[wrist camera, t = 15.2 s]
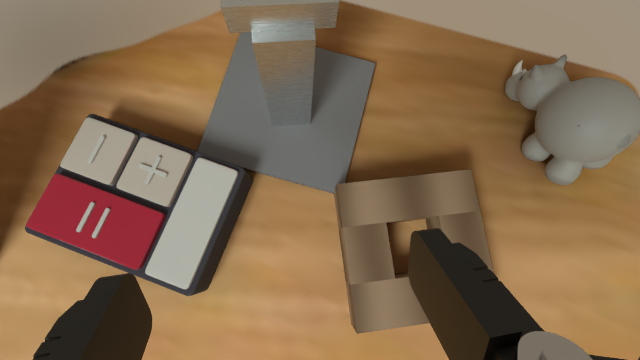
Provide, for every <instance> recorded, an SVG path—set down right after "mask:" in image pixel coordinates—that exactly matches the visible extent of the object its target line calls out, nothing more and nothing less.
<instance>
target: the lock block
mask: <svg viewBox="0 0 640 360" xmlns="http://www.w3.org/2000/svg"><path fill="white" fill-rule="evenodd" d="M334 190H335V193H334V196H335V204H336V211H337V219H338V226H339V234H340V241H341V249H342V257H343V264H344V272H345V279H346V287H347V294H348V302H349V309H350V317H351V324H352V326H353V328H354V329H355V331H356V333H357V334H358V333H365V332H372V331H378V330H385V329H392V328H399V327H406V326H412V325H419V324H426V323H430V322H429V320H428V318H427V316H426V314H425V313H424V311H423V309H422V307H421V305H420V303H419V301H418V299H417V297H416V296H415V294H414V292H413V290H412V287H411V284H410V281H409V276H408V272H407V273H400V274H394V268H393V261H392V255H391V249H390V243H389V236H388V230H387V224H386V223H395V222H403V221H411V220H419V219H426V223H427V229H433V228H439V229H441V230H442V231H443V233H444V234H445V235H446V236H447V238H448V239H449V240H450V241H451V243H458V242H460V243H461V244H463V245H464V246H466V247H467V248H469V249H471V250H472V251H474V252H475V253H477V255H478V256H479V257H480V258H481V259H482V260H483V262H484V263H485V264H486V265H487V266H488V269H490V270H491V271H492V272H493V267H492V263H491V258H490V253H489V249H488V244H487V240H486V235H485V231H484V226H483V221H482V217H481V212H480V208H479V203H478V199H477V194H476V189H475V185H474V180H473V176H472V171H471V169H469V170H460V171H451V172H442V173H433V174H424V175H415V176H406V177H397V178H388V179H379V180H370V181H361V182H352V183H343V184H337V185H336V187H335V189H334ZM493 273H494V272H493Z"/></svg>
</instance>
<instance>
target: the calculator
mask: <svg viewBox="0 0 640 360" xmlns="http://www.w3.org/2000/svg"><path fill="white" fill-rule="evenodd" d="M252 182H253V179H252V177H251V176H250V175H249V174H248V173H247V172H246V170H245V169H244V168H242V167H239V166H236V165H234V164H231V163H228V162H225V161H223V160H220V159H217V158H214V157H212V156H209V155H206V154H203V153H200V152H198V151H195V150H192V149H189V148H187V147H184V146H181V145H178V144H175V143H173V142H170V141H167V140H164V139H162V138H159V137H156V136H153V135H151V134H148V133H145V132H142V131H139V130H137V129H134V128H131V127H128V126H126V125H123V124H120V123H117V122H114V121H112V120H109V119H106V118H103V117H101V116H98V115H95V114H90V115H88V116H87V118H86V119H85V120H84V122H83V124H82V126H81V127H80V129H79V131H78V133H77V135H76V136H75V138H74V140H73V142H72V143H71V145H70V147H69V149H68V151H67V152H66V154H65V156H64V158H63V159H62V161H61V164H60V166H59V167H58V169H57V171H56V173H55V174H54V176H53V177H52V179H51V181H50V183H49V184H48V186H47V188H46V190H45V192H44V193H43V195H42V197H41V199H40V200H39V202H38V204H37V206H36V208H35V209H34V211H33V213H32V215H31V216H30V218H29V220H28V222H27V224H26V226H25V230H26V232H27V233H29V234H32V235H34V236H37V237H39V238H42V239H45V240H47V241H50V242H52V243H55V244H57V245H60V246H62V247H65V248H67V249H70V250H72V251H75V252H77V253H80V254H82V255H85V256H87V257H90V258H93V259H95V260H98V261H100V262H103V263H105V264H108V265H110V266H113V267H115V268H118V269H120V270H123V271H125V272H128V273H131V274H133V275H135V276H138V277H141V278H143V279H146V280H148V281H151V282H153V283H156V284H158V285H161V286H163V287H166V288H168V289H171V290H173V291H176V292H178V293H181V294H184V295H186V296H191V295H194V294H197V293H200V292H203V291H206V290H207V289H208V287H209V285H210V283H211V280H212V278H213V275H214V273H215V271H216V268H217V266H218V263H219V261H220V259H221V256H222V254H223V252H224V249H225V247H226V244H227V242H228V240H229V237H230V235H231V233H232V230H233V228H234V225H235V223H236V221H237V218H238V216H239V213H240V211H241V209H242V206H243V204H244V202H245V199H246V197H247V194H248V192H249V190H250V187H251V185H252Z"/></svg>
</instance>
